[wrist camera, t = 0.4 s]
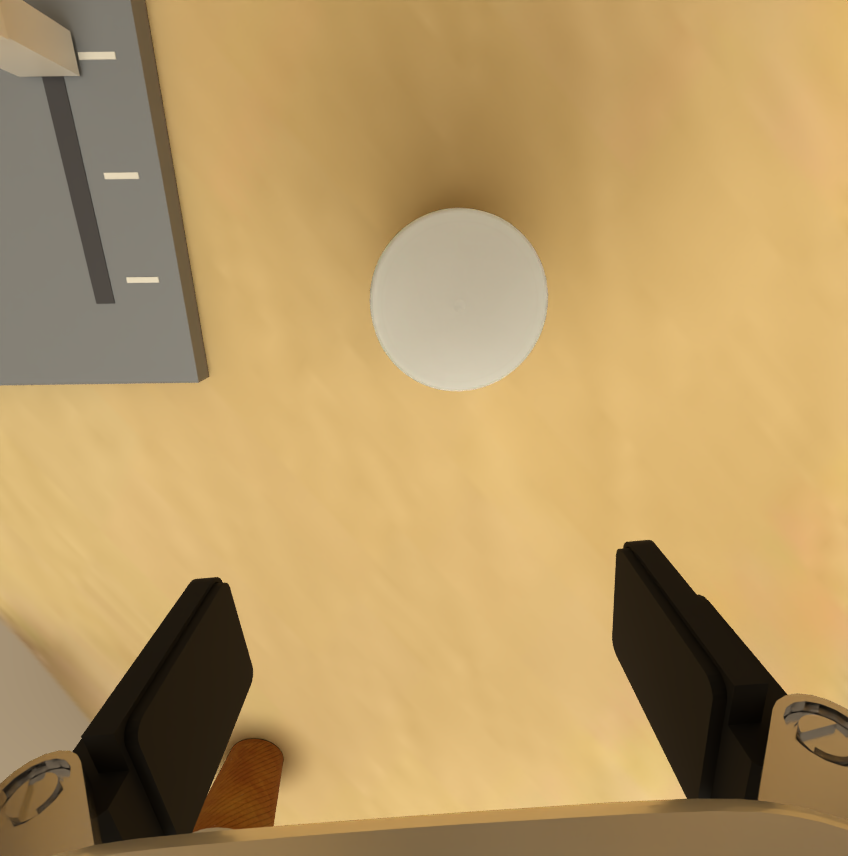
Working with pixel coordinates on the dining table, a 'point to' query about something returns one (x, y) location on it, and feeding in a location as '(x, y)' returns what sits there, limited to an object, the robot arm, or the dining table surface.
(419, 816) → the robot arm
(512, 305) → the supplement tub
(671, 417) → the dining table surface
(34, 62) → the fader cream
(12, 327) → the panel
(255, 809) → the disposable coffee cup
